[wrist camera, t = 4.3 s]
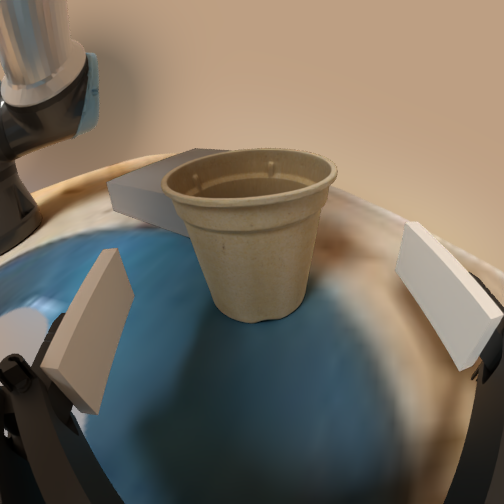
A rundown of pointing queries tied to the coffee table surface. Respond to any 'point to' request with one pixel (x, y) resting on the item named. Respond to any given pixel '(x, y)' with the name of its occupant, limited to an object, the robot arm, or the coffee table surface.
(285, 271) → the flower pot
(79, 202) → the coffee table surface
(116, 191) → the plinth
